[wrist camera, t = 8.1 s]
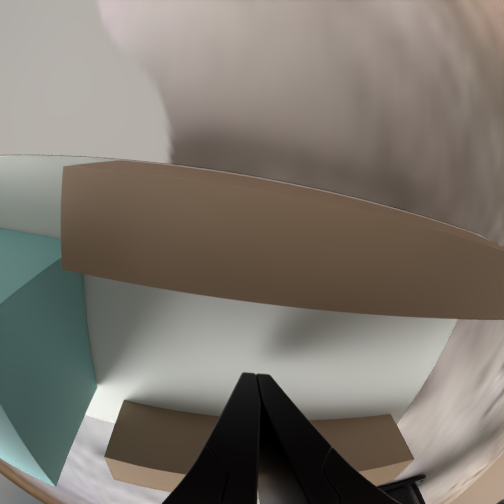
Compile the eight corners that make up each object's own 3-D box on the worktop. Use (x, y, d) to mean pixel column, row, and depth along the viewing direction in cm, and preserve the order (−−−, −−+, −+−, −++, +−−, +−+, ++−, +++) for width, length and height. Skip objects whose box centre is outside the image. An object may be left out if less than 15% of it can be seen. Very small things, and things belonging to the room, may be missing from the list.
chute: (478, 234, 9) (540, 264, 6) (384, 427, 12) (407, 476, 9) (-43, 156, 7) (-101, 169, 3) (-9, 365, 10) (-40, 404, 7)
